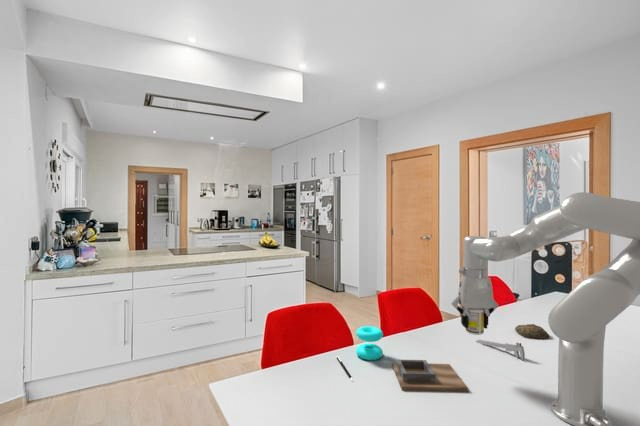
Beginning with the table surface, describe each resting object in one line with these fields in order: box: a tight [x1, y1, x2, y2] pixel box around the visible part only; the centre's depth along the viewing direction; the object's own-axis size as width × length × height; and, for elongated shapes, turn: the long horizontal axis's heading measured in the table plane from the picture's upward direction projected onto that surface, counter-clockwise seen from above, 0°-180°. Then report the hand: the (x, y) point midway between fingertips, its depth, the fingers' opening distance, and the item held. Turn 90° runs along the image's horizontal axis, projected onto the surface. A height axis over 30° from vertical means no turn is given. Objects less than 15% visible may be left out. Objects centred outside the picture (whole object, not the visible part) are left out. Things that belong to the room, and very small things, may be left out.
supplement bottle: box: [465, 308, 485, 336], centre depth 113 cm, size 6×6×10 cm
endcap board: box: [391, 359, 469, 393], centre depth 111 cm, size 16×20×4 cm
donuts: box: [355, 325, 384, 361], centre depth 128 cm, size 10×10×10 cm
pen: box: [336, 355, 354, 382], centre depth 117 cm, size 1×19×1 cm, turn 13°
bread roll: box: [514, 323, 550, 340], centre depth 151 cm, size 13×12×5 cm
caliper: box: [475, 339, 526, 361], centre depth 133 cm, size 20×1×6 cm, turn 26°
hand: (474, 326), depth 113 cm, fingers closed on supplement bottle, 5 cm apart
